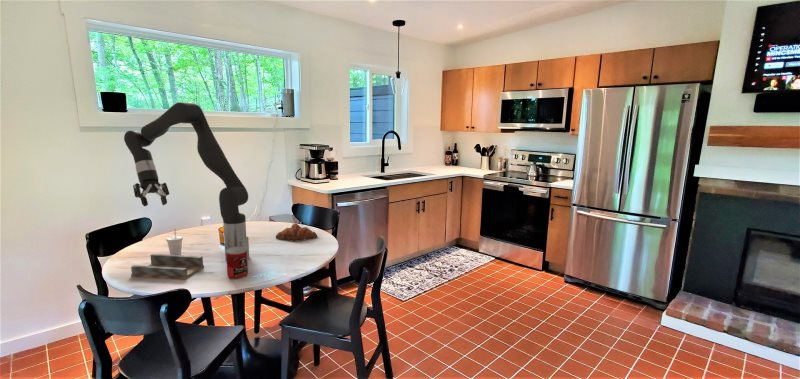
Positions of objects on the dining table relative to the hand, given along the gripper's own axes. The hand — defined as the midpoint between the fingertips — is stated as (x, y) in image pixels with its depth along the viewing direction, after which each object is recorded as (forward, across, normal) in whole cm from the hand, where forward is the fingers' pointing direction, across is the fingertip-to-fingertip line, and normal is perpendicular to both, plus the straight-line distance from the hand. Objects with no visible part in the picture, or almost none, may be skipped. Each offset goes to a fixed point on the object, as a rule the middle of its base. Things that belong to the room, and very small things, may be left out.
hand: (155, 205), depth 170 cm
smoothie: (+26, +1, -2) cm, 27 cm away
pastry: (+33, +51, -29) cm, 67 cm away
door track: (+32, -10, -12) cm, 36 cm away
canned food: (+43, 0, -37) cm, 57 cm away
